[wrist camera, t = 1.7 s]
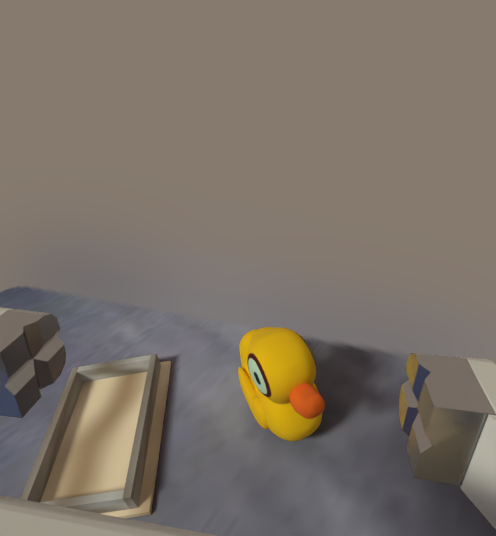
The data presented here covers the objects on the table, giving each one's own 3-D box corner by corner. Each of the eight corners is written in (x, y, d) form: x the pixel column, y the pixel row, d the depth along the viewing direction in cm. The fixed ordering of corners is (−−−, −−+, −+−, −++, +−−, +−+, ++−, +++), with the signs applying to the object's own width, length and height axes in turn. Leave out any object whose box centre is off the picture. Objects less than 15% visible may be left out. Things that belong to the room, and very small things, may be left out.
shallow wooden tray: (171, 363, 40) (165, 349, 39) (151, 514, 28) (142, 501, 27) (73, 379, 41) (65, 366, 39) (13, 535, 29) (-2, 523, 27)
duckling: (357, 459, 29) (356, 369, 23) (295, 497, 28) (277, 411, 22) (282, 361, 38) (268, 279, 32) (232, 385, 36) (209, 304, 31)
